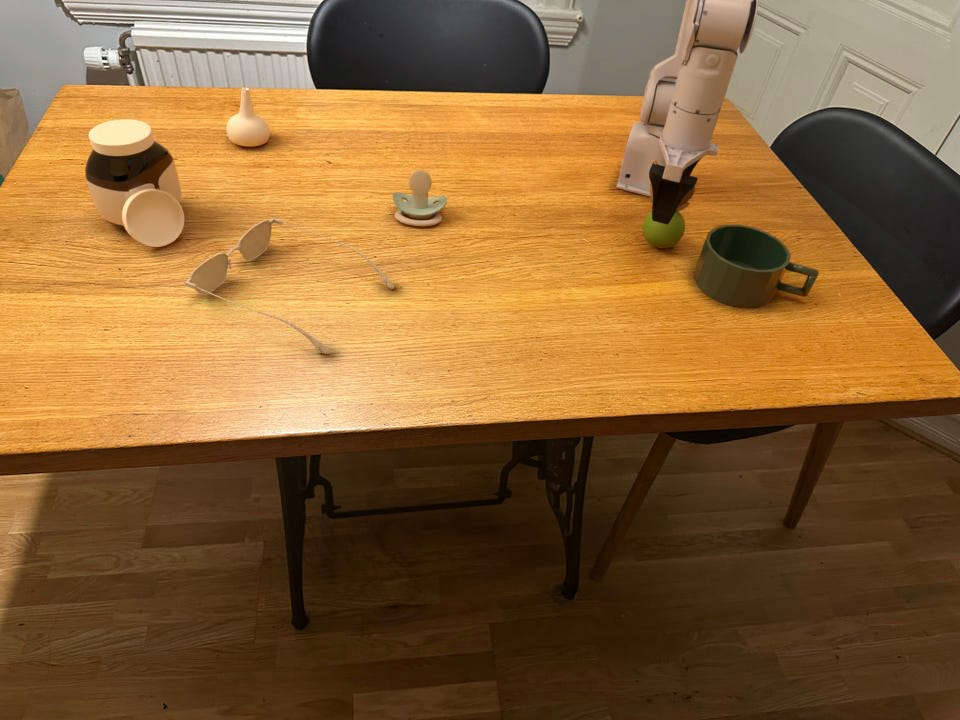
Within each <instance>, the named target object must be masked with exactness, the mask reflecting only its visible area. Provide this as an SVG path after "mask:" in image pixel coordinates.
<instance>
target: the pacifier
mask: <svg viewBox="0 0 960 720" xmlns="http://www.w3.org/2000/svg"><path fill="white" fill-rule="evenodd" d="M408 186H409V189H410V191H411V195H410V194H408V193H404V192H399V191H398V192H394V193H393V195H392V201H393V204H394V205H395V207H396V208H397V209H398V210H397V211H395V213H394V215H393V216H394V218H395V219H396V220H397V221H398V222H399V223H401V224H405V225H408V226H413V227H430V226H434V225H437V224H439V223H441V222H442V220H443V216H442V215H441V214H440V211H442V210H443V209H444V208H445V207H446V205H447V204H448V198H447V196H444V195H440V196H439V195H438V196H433V197H430V198H429V192H430V190H431V188H432V177H431V176H430V174H429V173H428V172H427V171H426V170H424V169H416V170H415V171H413V172H412V173H411V174H410V176H409V178H408ZM404 214H406V215H407V216H408V217H410V218H408V217H406V216H404ZM411 218H412V219H411Z"/></svg>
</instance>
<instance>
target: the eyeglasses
mask: <svg viewBox="0 0 960 720" xmlns="http://www.w3.org/2000/svg"><path fill="white" fill-rule="evenodd" d="M274 224H277V225H280V226H283V225H285V226H288V227H291V228H295V229H298V230H301V231H304V232H308V233H310V234H314V235H316V236H319V237H321V238H325V239H327V240H330V241H333V242H336V243H337V244H340V245H342V246H344V247H347V248H348V249H351V250H353V251H354V252H356V253H357V254H358V255H359V256H361V257H363V258H364V259H365V260H366V261H367V262H368V263H369V264H370V266H372V268H373V269H374V270H375V271H376V272H377V273H378V275H379V278H380V279H381V280H382V283H383V284H384V286H386V287H387V288H388V289H390V290H394V289H395V285H394V283H393V282H392V281H391V280H390V279H389V277H388V276H387V275H386V274H385V273H384V272H383V271H382V270H381V269H380V268H379V267H378V266H377V265H376V264H375V263H374V262H373V261H372V260H371V259H369V257H367V255H365V254H364V253H362V252H361V251H359V250H358V249H356V248H355V247H353V246H351V245H350V244H349V245H348V244H346V243H344V242H342V241H339V240H336V239H334V238H331V237H328V236H324V235H322V234H319V233H316V232H314V231H310V230H307V229H304V228H301V227H297V226H294V225H292V224H288V223H285V222H284V221H283V220H281V219H278V218H275V217H273V218H271V219H270V220H268V219H265V220H262V221H260V222H258V223H256V224H254V225H253V226H252V227H250V228H249V229H248V230H247V231H246V232H244V234H243V235H242V236H240V238H239V240H238V242H237V245H236V246H232V247H229V249H228V251H227V252H226V253H224V252H219V253H217V254H214V255H212V256H210V257H209V258H207V259H205V260H204V261H203V262H201V263H200V264H199V265H198V266H197V267H195V269H193V270H192V272H191V273H190V275H189V278H188V279H186V281H184V286H186V287H188V288H191V289H193V290H194V291H196V292H197V293H198V294H200V295H202V296H206V295H209V294H210V295H212V296H214V297H217V298H219V299H221V300H224V301H226V302H229V303H231V304H234V305H237V306H240V307H242V308H245V309H248V310H250V311H253V312H256V313H258V314H260V315H263V316H267V317H270V318H274V319H276V320H278V321H280V322H283V323H285V324H287V325H288V326H290V327H292V328H293V329H295V330H296V331H297V332H299V333H300V334H302V335H303V336H304V337H306V339H308V340H309V342H310V343H311V344H312V346H314V348H315V349H316V351H318V352H319V353H321V354H325V355H330V354H331V353H332V352H331V349H330V348H329V347H327V346H326V345H324V344H323V343H322V342H321V341H319V340H318V339H316V338H315V337H314V336H312V335H311V334H309V332H307V331H305V330H304V329H302V328H301V327H299V326H297V325H296V324H294V323H292V322H290V321H288V320H286V319H284V318H282V317H280V316H276V315H274V314H271V313H268V312H264V311H261V310H256V309H254V308H250V307H248V306H245V305H243V304H240V303H237V302H234V301H231V300H230V299H227V298H224V297H222V296H219V295H217V294H215V293H213V292H214V291H215V290H217V289H218V288H219V287H220V286H221V285H222V284H223V283H224V282H225V281H226V278H227V274H228V269H229V270H232V260H231V258H229V256H230V255H231V254H232V253H234V251H236V250H238V252H239V253H240V254H241V256H242V257H243V258H244V259H245V260H247V261H249V262H251V261H252V262H253V260H255V259H257V258H259V256H261V255H263V254H264V253H265V252H266V250H267V249H268V247H269V245H270V243H271V237H272V225H274Z"/></svg>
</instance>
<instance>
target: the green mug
mask: <svg viewBox="0 0 960 720" xmlns="http://www.w3.org/2000/svg"><path fill="white" fill-rule="evenodd" d="M791 256H792V255H791V253H790V251H789V249H788V246H787V245H786V244H785V243H784V242H783V241H781V239H779V238H778V237H776V236H775V235H772V234H770V233H769V232H767V231H764V230H762V229H759V228H756V227H753V226H749V225H743V224H723V225H719V226H715V227H714V228H712V229H711V230H710V231H708V232H707V233H706V236H705V240H704V243H703V246H702V248H701V252H700V253H699V257H698V260H697V262H696V266H695V269H694V271H693V279H694V282H695V284H696V286H697V287H698V288H699V290H701V291H702V292H703V293H704V294H705V295H706V296H708V297H709V298H711V299H713V300H715V301H717V302H719V303H721V304H723V305H727V306H731V307H734V308H742V309H754V308H755V309H756V308H760V307H764V306H765V305H767V304H768V303H770V302H771V301H772V300H773V299H774V297H775V296H776V294H777V292H778V291H781V292H784V293H787V294H791V295H795V296H798V297H802V298H806V297H808V296H809V294H810V293H811V290H812V288H813V286H814V285H815V282H816V280H817V278H818V277H819V274H820V272H819V269H817V268H813V267H810V266H806V265H802V264H799V263H795V262H791ZM787 271H788V272H793V273H796V274H799V275H803V276H807V277H806V279H805V281H804V283H803V285H802V287H800V286H796V285H793V284H789V283H786V282H782V280H783V278H784V276H785V274H786V272H787Z"/></svg>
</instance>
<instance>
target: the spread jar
mask: <svg viewBox="0 0 960 720" xmlns="http://www.w3.org/2000/svg"><path fill="white" fill-rule="evenodd" d="M88 139H89V143H90V145H91V148H92V150H91V152H90V154H89V155H88V158H87V161H86V164H85V168H84V169H85V170H84V171H85V174H84V175H85V181H86V184H87V188H88V192H89V194H90V196H91V200H92V202H93V205H94V207H95V210H96V212H97V213H98V214H99V216H100V217H101V218H102V219H103V220H104V221H106V222H107V223H109V224H110V225H112V226H113V227H116V228H118V229H121V230H124V231H125V232H127V234H128V235H129V236H130V237H131V238H132V239H133V240H134V241H136V242H138V243H140V244H143V245H145V246H148V247H153V248H160V247H165V246H168V245H170V244H172V243H173V242H175V241H176V240H177V239H178V238H179V237H180V235H181V234H182V232H183V230H184V225H185V213H184V209H183V207H182V205H181V203H182V187H181V183H180V179H179V175H178V170H177V167H176V166H177V165H176V163H175V160H174V158H173V156H172V153H171V152H170V151H169V150H168V149H167V148H166V147H165V146H164V145H162V144H161V143H160V142H158V141H156V140H155V138H154V135H153V131H152V128H151V126H150V125H149V124H148V123H146V122H144V121H141V120H136V119H114V120H109V121H105V122H102V123H99V124H98V125H96V126H94V127H92V128H91V129H90V130H89V132H88Z"/></svg>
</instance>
